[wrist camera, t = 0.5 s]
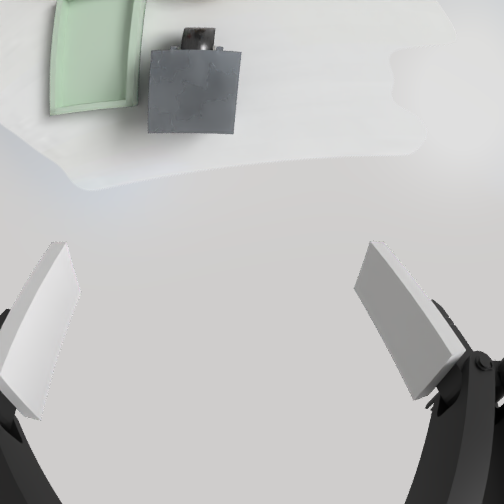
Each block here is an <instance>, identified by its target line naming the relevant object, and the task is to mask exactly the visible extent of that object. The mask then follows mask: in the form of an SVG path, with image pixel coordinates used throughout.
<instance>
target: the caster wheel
mask: <svg viewBox="0 0 504 504" xmlns="http://www.w3.org/2000/svg"><path fill="white" fill-rule="evenodd" d="M214 36H215V28H185V29H184V32H183V37H182V44H181V49H180V48H179V47H178V46H171V50H155V51H151V64H150V79H149V101H148V133H217V134H233V133H234V122H235V111H236V100H237V90H238V80H239V71H240V61H241V52H234V51H223V47H217V48H216V50H215V46H214Z"/></svg>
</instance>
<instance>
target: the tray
mask: <svg viewBox="0 0 504 504" xmlns="http://www.w3.org/2000/svg"><path fill="white" fill-rule="evenodd" d="M145 7H146V0H57V5H56V11H55V18H54V26H53V35H52V46H51V60H50V116H53V115H60V114H66V113H73V112H81V111H89V110H98V109H108V108H120V107H133V106H136V105H138V84H139V66H140V53H141V41H142V31H143V22H144V14H145Z"/></svg>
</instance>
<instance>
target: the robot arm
mask: <svg viewBox="0 0 504 504" xmlns="http://www.w3.org/2000/svg"><path fill="white" fill-rule="evenodd" d="M354 289H355V291H356V293H357V295H358V296H359V298H360V300H361V302H362V303H363V305H364V307H365V308H366V310H367V311H368V314H369V316H370V317H371V319H372V321H373V323H374V325H375V326H376V328H377V330H378V332H379V334H380V336H381V337H382V339H383V341H384V343H385V345H386V347H387V349H388V351H389V352H390V354H391V356H392V358H393V360H394V362H395V364H396V366H397V368H398V370H399V372H400V374H401V376H402V378H403V380H404V382H405V384H406V386H407V388H408V390H409V392H410V394H411V396H412V398H413V400H417V399H420V398H422V397H425V396H428V395H429V394H430V393H431V392H432V391H433V389H434V388H435V387H437V389H438V391H439V392H438V393H437V394H436V395H435V396H434V397H433V398H432V400H430V401H429V403H428V404H427V405H426V407H425V408H426V409H428V408H429V407H430V406H431V405H432V404H433V403H434V405H433V407H432V409H431V411H432V414H431V419H430V423H429V428H428V432H427V436H426V440H425V444H424V447H423V451H422V454H421V458H420V461H419V465H418V468H417V471H416V474H415V477H414V480H413V483H412V485H411V488H410V491H409V494H408V497H407V499H406V502H405V504H504V404H503V405H502V406H501V407H498V403H497V402H498V401H499V400H500V399H502V398H503V396H504V358H503V359H502V361H492V360H491V358H490V357H489V356H488V355H487V354H485V353H483V352H481V351H474V352H473V350H472V349H471V348H470V346H469V344H468V343H467V341H466V340H465V339H464V337H463V336H462V334H461V333H460V331H459V330H458V329H457V327H456V326H455V325H454V323H453V321H452V320H451V319H450V318H449V316H448V315H447V313H446V312H445V310H444V309H443V308H442V307H441V306H440V305H439V304H438V303H436V302H435V301H434V300H430V298H429V297H428V296H427V294H426V293H425V292H424V290H423V289H422V288H421V286H420V285H419V284H418V283H417V281H416V280H415V279H414V278H413V276H412V275H411V274H410V273H409V271H408V270H407V269H406V268H405V266H404V265H403V264H402V263H401V261H400V260H399V259H398V258H397V257H396V255H395V254H394V253H393V252H392V251H391V249H390V248H389V247H388V246H387V245H386V244H385V242H383V241H370V243H369V247H368V250H367V253H366V256H365V259H364V261H363V264H362V268H361V270H360V273H359V276H358V279H357V282H356V284H355V287H354ZM80 295H81V290H80V287H79V284H78V280H77V277H76V274H75V271H74V267H73V264H72V261H71V257H70V253H69V249H68V246H67V242H52V243H51V244H50V246H49V247H48V249H47V250H46V252H45V253H44V255H43V256H42V258H41V259H40V261H39V262H38V264H37V265H36V267H35V269H34V270H33V272H32V274H31V275H30V277H29V278H28V280H27V282H26V283H25V285H24V287H23V288H22V290H21V292H20V294H19V296H18V297H17V299H16V301H15V303H14V304H13V306H12V308H11V309H6V310H5V311H4V312H3V313H2V314H1V315H0V504H62V503H61V501H60V500H59V498H58V496H57V495H56V493H55V492H54V490H53V489H52V487H51V485H50V484H49V482H48V480H47V478H46V477H45V475H44V473H43V471H42V469H41V468H40V466H39V464H38V462H37V460H36V458H35V456H34V454H33V452H32V450H31V448H30V446H29V444H28V441H27V440H26V437H25V435H24V433H23V431H22V428H21V426H20V423H19V421H18V419H17V418H16V416H15V411H16V409H17V410H18V411H19V412H21V414H22V415H24V416H25V417H29V418H33V419H36V420H40V421H41V418H42V414H43V409H44V405H45V401H46V397H47V393H48V389H49V386H50V382H51V379H52V375H53V372H54V368H55V365H56V361H57V358H58V355H59V352H60V349H61V346H62V343H63V340H64V337H65V334H66V332H67V328H68V326H69V323H70V321H71V318H72V315H73V312H74V310H75V307H76V305H77V302H78V300H79V297H80Z"/></svg>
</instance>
